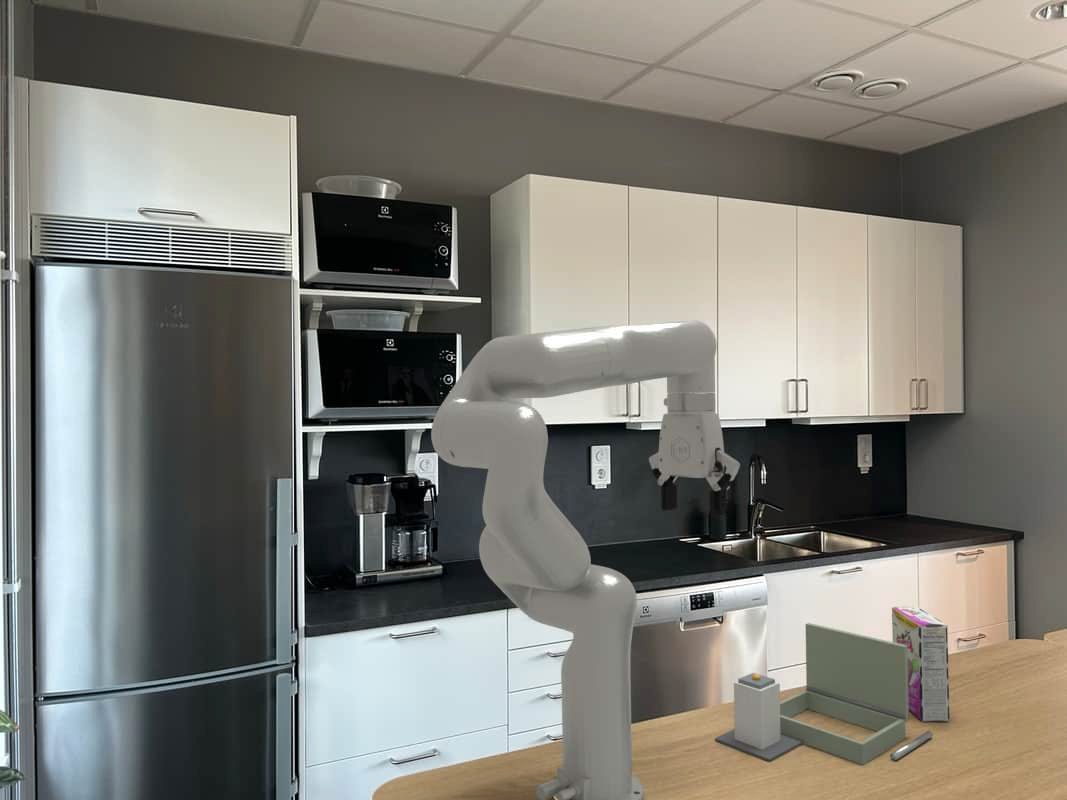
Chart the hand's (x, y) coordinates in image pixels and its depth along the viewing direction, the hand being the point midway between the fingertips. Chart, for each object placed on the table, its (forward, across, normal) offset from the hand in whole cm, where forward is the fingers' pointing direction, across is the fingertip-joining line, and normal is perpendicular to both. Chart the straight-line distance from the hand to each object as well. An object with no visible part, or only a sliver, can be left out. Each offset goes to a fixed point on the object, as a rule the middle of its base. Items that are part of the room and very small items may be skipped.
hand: (693, 512), depth 127 cm
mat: (+36, +7, +6) cm, 38 cm away
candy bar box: (+36, +18, +38) cm, 56 cm away
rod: (+36, +24, +22) cm, 49 cm away
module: (+36, +7, +6) cm, 37 cm away
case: (+36, +13, +18) cm, 43 cm away
